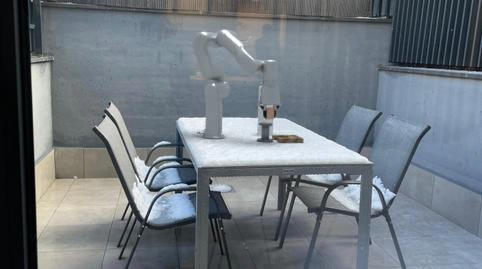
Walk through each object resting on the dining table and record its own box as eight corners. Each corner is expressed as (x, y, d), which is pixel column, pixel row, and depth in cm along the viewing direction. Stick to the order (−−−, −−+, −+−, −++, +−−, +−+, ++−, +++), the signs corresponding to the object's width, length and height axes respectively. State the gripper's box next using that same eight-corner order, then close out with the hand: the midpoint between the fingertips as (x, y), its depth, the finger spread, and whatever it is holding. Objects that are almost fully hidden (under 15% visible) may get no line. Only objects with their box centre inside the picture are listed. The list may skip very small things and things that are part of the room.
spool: (259, 142, 249) (259, 124, 248) (255, 139, 258) (255, 122, 257) (275, 142, 251) (275, 124, 250) (270, 139, 260) (271, 122, 258)
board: (279, 143, 249) (279, 138, 249) (271, 139, 263) (272, 134, 262) (303, 142, 252) (303, 138, 252) (295, 139, 266) (295, 134, 265)
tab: (266, 119, 242) (266, 108, 242) (264, 118, 246) (264, 107, 246) (274, 119, 243) (274, 108, 243) (271, 118, 247) (271, 107, 247)
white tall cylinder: (273, 136, 273) (275, 86, 269) (257, 136, 273) (259, 85, 269) (272, 134, 282) (274, 85, 278) (257, 133, 282) (258, 85, 278)
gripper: (256, 83, 237) (256, 118, 239) (287, 83, 240) (286, 118, 243) (252, 83, 244) (252, 117, 247) (282, 83, 248) (282, 117, 250)
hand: (269, 117), depth 245 cm, fingers closed on tab, 4 cm apart
